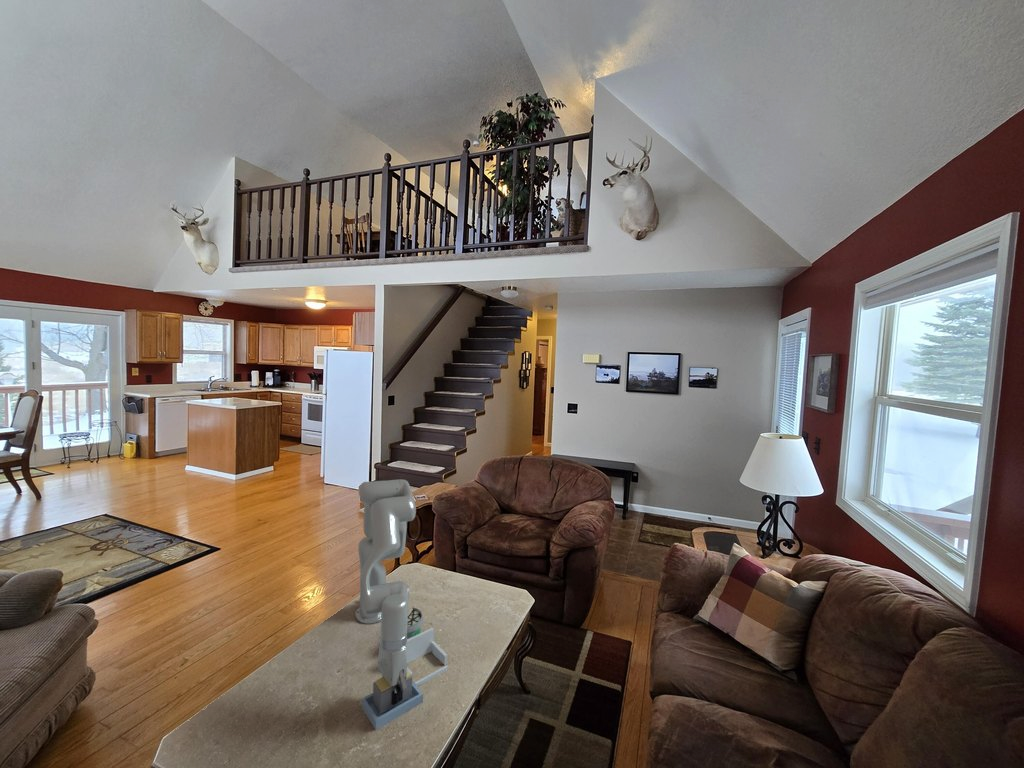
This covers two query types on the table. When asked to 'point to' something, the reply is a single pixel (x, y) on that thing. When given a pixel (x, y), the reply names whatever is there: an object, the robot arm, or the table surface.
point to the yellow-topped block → (389, 693)
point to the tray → (396, 711)
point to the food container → (414, 623)
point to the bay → (425, 652)
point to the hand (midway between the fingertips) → (392, 695)
